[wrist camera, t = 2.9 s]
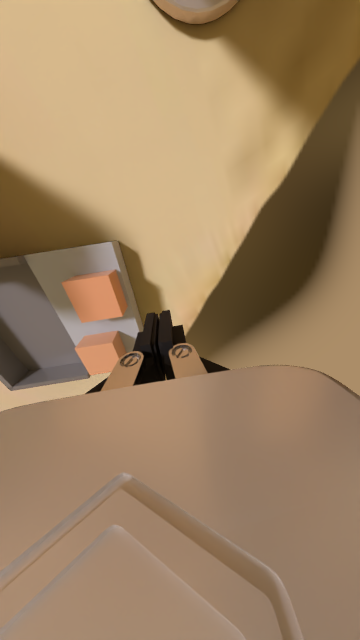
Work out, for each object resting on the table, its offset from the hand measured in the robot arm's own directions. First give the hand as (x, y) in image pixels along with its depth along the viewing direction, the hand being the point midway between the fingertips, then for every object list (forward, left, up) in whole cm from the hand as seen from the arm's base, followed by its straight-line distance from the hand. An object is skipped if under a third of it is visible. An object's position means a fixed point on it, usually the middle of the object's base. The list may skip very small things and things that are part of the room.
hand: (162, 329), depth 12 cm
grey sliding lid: (+10, +3, -14) cm, 17 cm away
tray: (+21, +3, -14) cm, 25 cm away
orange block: (+8, -1, -11) cm, 13 cm away
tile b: (+10, +8, -11) cm, 17 cm away
